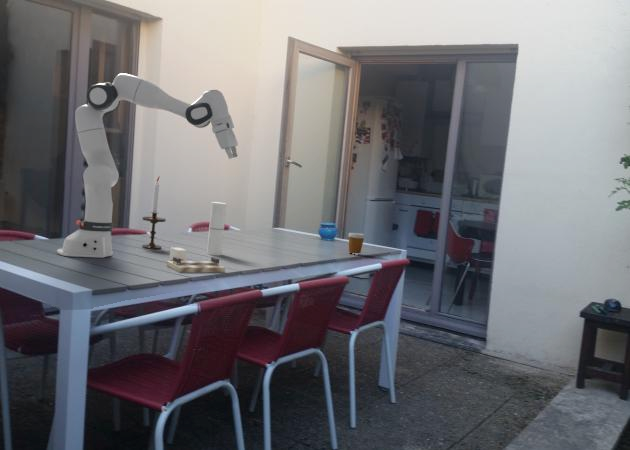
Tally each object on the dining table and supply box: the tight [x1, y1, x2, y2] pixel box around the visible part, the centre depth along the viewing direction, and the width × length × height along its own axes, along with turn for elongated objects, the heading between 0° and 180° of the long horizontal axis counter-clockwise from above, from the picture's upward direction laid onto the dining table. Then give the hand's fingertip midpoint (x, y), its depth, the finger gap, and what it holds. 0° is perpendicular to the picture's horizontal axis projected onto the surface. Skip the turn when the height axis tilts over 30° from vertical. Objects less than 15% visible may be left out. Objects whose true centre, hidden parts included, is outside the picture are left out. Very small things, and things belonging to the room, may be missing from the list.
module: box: [168, 246, 188, 261], centre depth 283 cm, size 4×8×6 cm, turn 34°
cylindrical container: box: [206, 201, 227, 256], centre depth 317 cm, size 7×7×25 cm
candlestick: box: [141, 175, 167, 250], centre depth 314 cm, size 11×11×35 cm
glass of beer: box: [348, 232, 366, 254], centre depth 373 cm, size 10×10×12 cm
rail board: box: [166, 256, 226, 273], centre depth 272 cm, size 20×14×5 cm
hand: (233, 157), depth 282 cm, fingers open, 8 cm apart
